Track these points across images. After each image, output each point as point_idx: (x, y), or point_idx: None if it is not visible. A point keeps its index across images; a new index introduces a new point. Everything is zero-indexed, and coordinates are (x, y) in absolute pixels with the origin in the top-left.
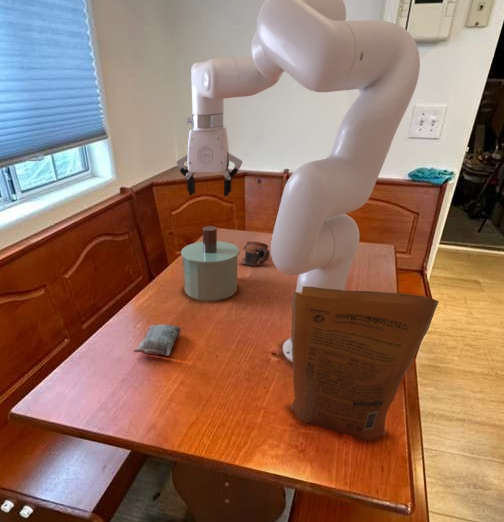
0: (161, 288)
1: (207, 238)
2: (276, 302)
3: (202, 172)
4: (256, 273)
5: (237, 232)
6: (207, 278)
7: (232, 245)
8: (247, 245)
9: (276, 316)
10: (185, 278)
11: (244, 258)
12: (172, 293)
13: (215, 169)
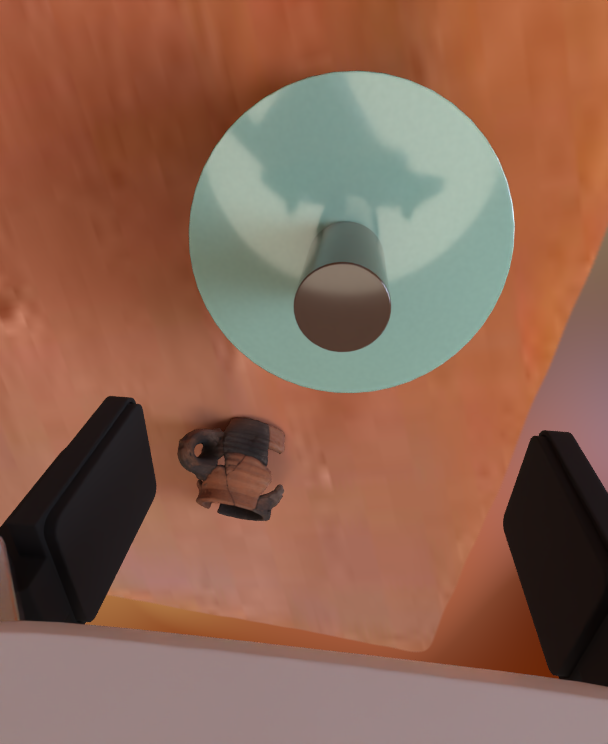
0: (571, 181)
1: (348, 245)
2: (78, 146)
3: (396, 664)
4: (217, 370)
5: (350, 632)
6: None
7: (248, 343)
8: (264, 495)
9: (34, 13)
10: None
11: (271, 443)
12: (512, 139)
13: (34, 693)
